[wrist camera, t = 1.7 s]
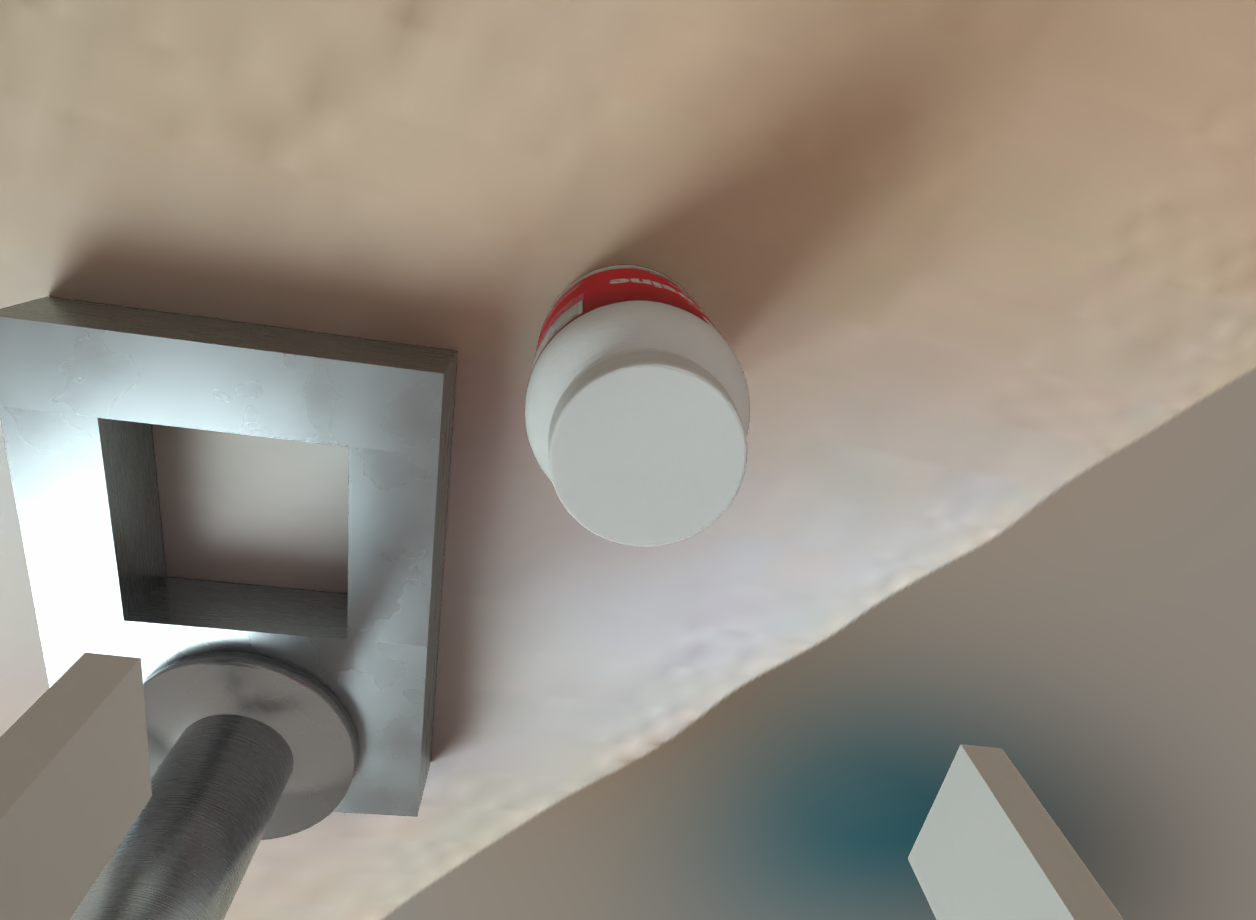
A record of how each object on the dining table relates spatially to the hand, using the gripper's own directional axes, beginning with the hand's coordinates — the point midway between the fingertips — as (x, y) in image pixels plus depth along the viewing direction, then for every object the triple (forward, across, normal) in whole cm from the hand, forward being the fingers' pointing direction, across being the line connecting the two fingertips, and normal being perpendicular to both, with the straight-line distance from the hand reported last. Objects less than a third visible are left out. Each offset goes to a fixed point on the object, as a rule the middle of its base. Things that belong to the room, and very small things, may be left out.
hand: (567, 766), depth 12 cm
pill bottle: (+18, +1, +3) cm, 18 cm away
